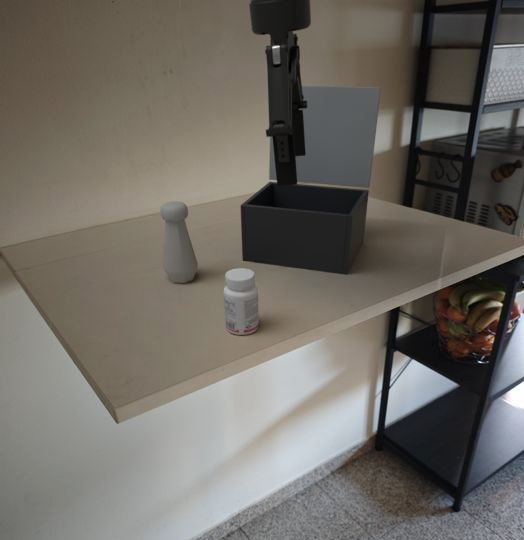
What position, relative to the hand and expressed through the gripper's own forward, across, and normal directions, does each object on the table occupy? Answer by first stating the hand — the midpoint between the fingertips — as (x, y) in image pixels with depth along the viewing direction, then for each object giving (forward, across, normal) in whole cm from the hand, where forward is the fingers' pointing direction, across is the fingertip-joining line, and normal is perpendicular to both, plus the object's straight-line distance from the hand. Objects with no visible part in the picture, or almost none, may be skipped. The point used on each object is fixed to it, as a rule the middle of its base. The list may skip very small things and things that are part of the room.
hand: (292, 169), depth 74 cm
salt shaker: (+17, +2, -20) cm, 27 cm away
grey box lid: (+1, -22, +3) cm, 22 cm away
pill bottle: (+17, +16, -7) cm, 25 cm away
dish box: (+19, -13, 0) cm, 23 cm away
